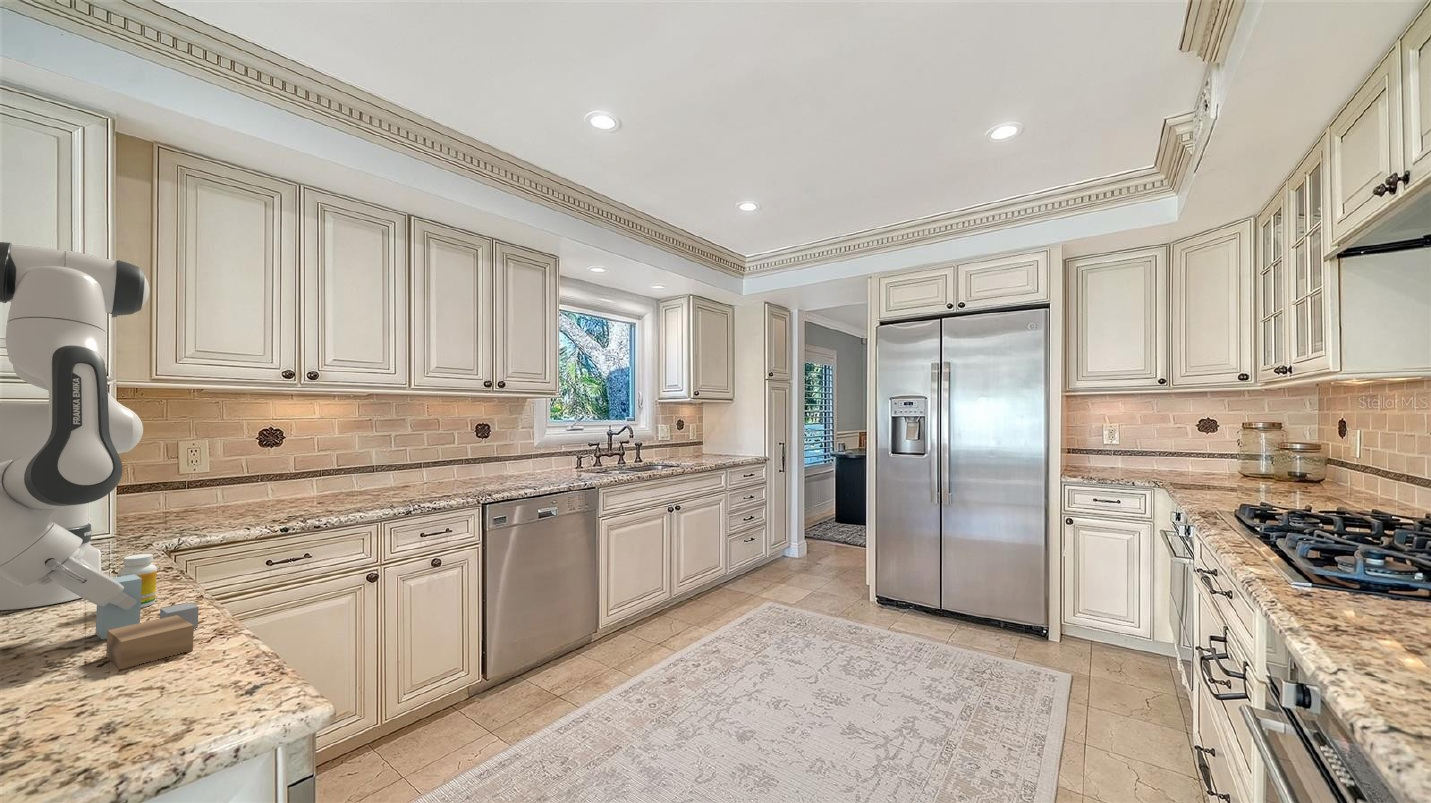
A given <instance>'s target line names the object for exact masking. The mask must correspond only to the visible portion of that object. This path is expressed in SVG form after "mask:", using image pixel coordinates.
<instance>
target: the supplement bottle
mask: <svg viewBox="0 0 1431 803" xmlns="http://www.w3.org/2000/svg"><path fill="white" fill-rule="evenodd" d="M122 561H123V563H122V564H123V566H124V567H122V568H121V569H119V570H118V572H117V576H116V577H122V576H128V575H134V574H135V575H136V576H138V577H140V578H142V587H141V609H143V608H146V607H149V606H152V605H153V604H155V602H156V596H157V594H156V591H157V574H158V567H157V566H156V565H155V564H153V563H152V562H153V561H154V555H153V553H152V554H151V553H140V554H139V553H138V554H133V555H129V556H126V557H125V556H124V557H123V560H122Z"/></svg>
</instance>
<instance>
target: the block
mask: <svg viewBox="0 0 1431 803" xmlns="http://www.w3.org/2000/svg"><path fill="white" fill-rule="evenodd" d="M159 610H160V611H159V619H162V618H167V617H171V616H176V615H178V616H179V617H181V618H183V619H184V620H186V621H188V622H189V623H191V624H193V625H194V629H196V628H198V626H199V606H198V605H196V604H194V603H193V602H187V603H182V604H181V603H180V604H176V605H172V606H167V607H166V606H165V607H160V609H159ZM198 629H199V628H198Z"/></svg>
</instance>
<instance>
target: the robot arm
mask: <svg viewBox="0 0 1431 803" xmlns="http://www.w3.org/2000/svg"><path fill="white" fill-rule="evenodd" d="M149 297H150V284H149V281H148V279H147V278H146V273H145V272H144V270H142V269H141V267H140V266H138V265H135V264H132V263H129V262H127V261H123V260H120V259H117V260H112V259H108V258H106V257H102V256H97V255H92V254H88V253H84V252H78V251H74V250H73V251H72V250H62V249H61V250H60V249H53V248H47V247H46V248H45V247H40V246H39V247H37V246H29V245H17V244H16V245H15V244H12V242H6V241H5V242H4V241H0V303H3V304H7V303H9V302H10V305H9V311H8V315H7V322H6V330H5V347H6V354H7V357H8V360H9V362H10V363H11V364H12V365H13V366H12V369H13V372H14V374H16V376H17V377H18V378H20V379H21V381H23V382H24V383H25V382H26V383H27V384H29V385H31V386H34V387H37V388H40V389H43V390H46V391H48V403H19V402H18V403H17V402H14V403H13V402H9V403H8V402H1V403H0V611H4V610H5V611H8V610H11V611H12V610H19V609H28V608H37V607H43V606H49V605H54V604H59V603H65V602H69V601H73V600H78V599H81V598H82V599H85V600H86V601H88V602H90V603H92V604H93V605H96V606H97V605H98V606H105V605H106V604H108V603H111V604H114V605H117V606H119V607H121V608H123V609H125V610H128V609H130V608H131V607H132V606H133V605H135V604H136V602H137V601H136V600H135V599H133V598H131V597H130V596H128V595H126V594H125V593H124V592H122V591H123V590H124V586H122V585H121V584H120V583H118V582H117V581H115V580H113V579H112V578H113V577H110V576H109V575H107V574H105V573H103V571H102V559H101V558H102V555H101V554H102V553H101V549H98V548H97V547H95V546H93V545H91V543H90V542H91V540H92V534H93V529H92V524H90V523H89V520H90V519H89V516H90V503H92V502H93V503H94V502H96V501H99V500H101V499H103V498H104V497H106V496H108V495H109V494H110V493H111V492H112V491H113V490H114V489H115V488H116V487H117V486H118V485H119V483H120V481H121V479H122V476H123V470H124V469H123V463H122V460H121V457H120V455H119V454H123V453H128V452H130V451H132V450H134V448H135V447H137V445H138V444H139V443H140V442H141V440H142V437H143V434H144V425H143V422H142V420H141V418H140V417H139V415H138V414H137V413H136V412H135V411H133V410H132V409H130V408H128V407H126V406H124V405H123V404H121V403H120V402H119V401H117V399H116V398H114V397H113V396H112V395H111V394H110V393H109V389H108V375H107V368H106V363H105V362H106V361H105V355H106V353H105V351H106V350H105V349H106V339H107V337H106V336H107V314H110V315H111V318H112V319H113V318H117V317H119V316H127V315H128V316H130V315H134V314H135V313H137V312H140V311H142V308H143V307H144V306H145V305H146V303H147V301H148V300H149Z"/></svg>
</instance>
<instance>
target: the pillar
mask: <svg viewBox="0 0 1431 803" xmlns="http://www.w3.org/2000/svg"><path fill="white" fill-rule="evenodd" d="M111 578H112V579H113V580H115V581H117V582H118V583H120V584H121V585H122V586H124V590H123V591H122V592H124V593H125V594H126V595H128V596H130V597H131V598H133V599H135V600H136V601H137V602H136V604H135V605H133V606H132V607H131V608H130V609H128V610H125V609H123V608H121V607H119V606H117V605H114V604H111V603H108V604H106V605H105V606H98V605H96V615H95V616H96V617H95V635H96V636H97V637H98V638H100V639H101V640H102V639H103V640H107V630H110V629H115V628H120V627H124V626H129V625H134V624H138V623H141V609H142V608H141V587H142V578H140V577H138V576H136V575H135V574H134V575H128V576H122V577H117V576H116V577H115V576H114V577H111Z"/></svg>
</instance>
